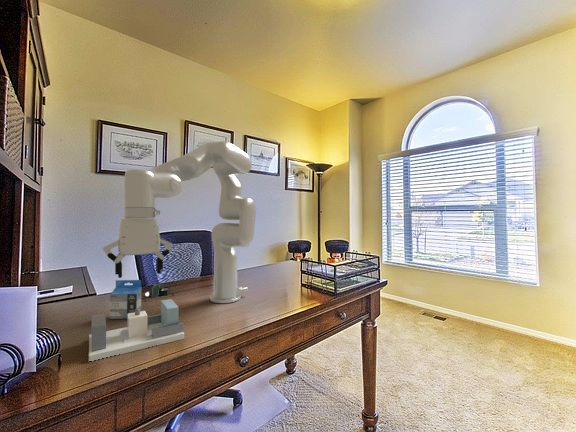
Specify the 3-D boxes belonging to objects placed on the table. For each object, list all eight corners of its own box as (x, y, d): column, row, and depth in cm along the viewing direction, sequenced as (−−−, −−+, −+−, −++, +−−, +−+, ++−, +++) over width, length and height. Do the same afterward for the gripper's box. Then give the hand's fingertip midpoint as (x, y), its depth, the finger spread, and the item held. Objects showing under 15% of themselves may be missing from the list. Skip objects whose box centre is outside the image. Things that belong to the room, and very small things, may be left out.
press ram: (171, 320, 87) (171, 299, 87) (178, 330, 80) (178, 307, 80) (160, 322, 85) (161, 300, 85) (167, 332, 78) (167, 308, 78)
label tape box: (108, 319, 92) (108, 282, 92) (115, 315, 96) (115, 279, 96) (136, 319, 93) (136, 282, 92) (141, 314, 97) (142, 279, 96)
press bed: (173, 319, 89) (173, 300, 89) (183, 331, 79) (183, 311, 79) (91, 335, 76) (91, 314, 76) (91, 353, 67) (91, 328, 67)
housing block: (145, 327, 81) (145, 305, 81) (147, 333, 77) (147, 310, 77) (127, 331, 78) (127, 308, 78) (128, 337, 74) (128, 313, 74)
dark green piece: (148, 290, 128) (148, 278, 128) (183, 289, 131) (183, 277, 131) (137, 300, 113) (137, 287, 113) (176, 299, 116) (176, 285, 116)
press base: (172, 322, 90) (172, 317, 90) (184, 338, 78) (184, 333, 78) (89, 339, 77) (89, 334, 77) (88, 362, 66) (88, 355, 66)
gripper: (169, 214, 86) (169, 269, 86) (102, 213, 76) (102, 276, 76) (175, 214, 80) (175, 273, 80) (103, 214, 70) (103, 281, 70)
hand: (139, 274), depth 78 cm, fingers open, 9 cm apart
